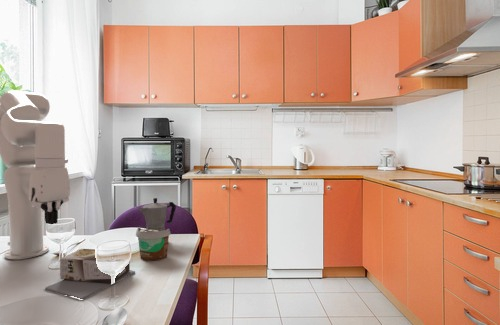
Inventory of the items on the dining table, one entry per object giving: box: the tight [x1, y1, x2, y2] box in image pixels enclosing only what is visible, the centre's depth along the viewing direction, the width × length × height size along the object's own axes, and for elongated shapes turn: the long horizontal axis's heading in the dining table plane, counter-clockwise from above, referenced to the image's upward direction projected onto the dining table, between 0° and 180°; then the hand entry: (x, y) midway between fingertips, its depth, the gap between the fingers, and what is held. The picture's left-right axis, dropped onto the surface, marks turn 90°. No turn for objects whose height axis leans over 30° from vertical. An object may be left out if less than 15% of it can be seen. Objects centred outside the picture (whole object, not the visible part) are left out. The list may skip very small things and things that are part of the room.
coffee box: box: [59, 248, 131, 283], centre depth 90 cm, size 9×6×16 cm
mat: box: [44, 269, 136, 300], centre depth 88 cm, size 14×18×1 cm
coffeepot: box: [138, 197, 177, 231], centre depth 122 cm, size 15×9×18 cm, turn 133°
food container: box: [135, 226, 171, 262], centre depth 105 cm, size 12×6×10 cm, turn 76°
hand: (51, 223), depth 95 cm, fingers closed
